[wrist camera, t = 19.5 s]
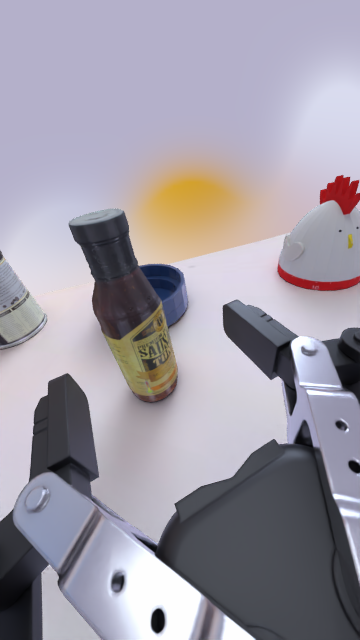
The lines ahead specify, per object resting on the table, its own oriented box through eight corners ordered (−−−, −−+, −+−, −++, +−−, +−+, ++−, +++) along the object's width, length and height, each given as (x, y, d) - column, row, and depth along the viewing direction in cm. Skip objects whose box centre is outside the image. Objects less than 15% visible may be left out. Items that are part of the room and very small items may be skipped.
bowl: (133, 352, 32) (122, 328, 29) (94, 312, 42) (82, 290, 39) (205, 303, 39) (203, 278, 35) (156, 278, 48) (151, 257, 45)
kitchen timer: (298, 296, 36) (322, 195, 26) (266, 260, 47) (275, 179, 37) (384, 281, 35) (440, 172, 26) (332, 248, 46) (358, 162, 36)
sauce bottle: (167, 411, 24) (96, 234, 12) (122, 396, 27) (23, 235, 14) (188, 366, 29) (152, 200, 16) (147, 356, 31) (89, 205, 19)
